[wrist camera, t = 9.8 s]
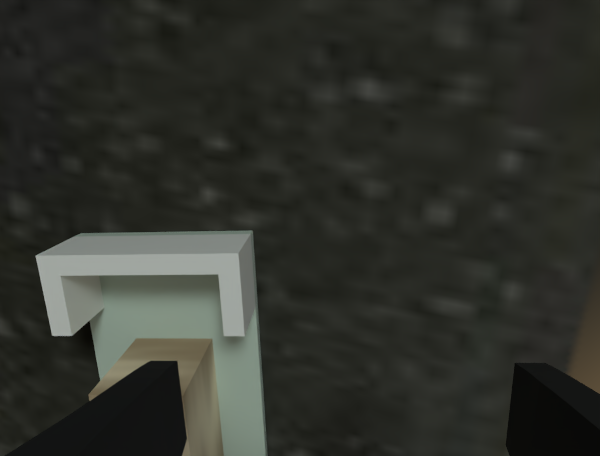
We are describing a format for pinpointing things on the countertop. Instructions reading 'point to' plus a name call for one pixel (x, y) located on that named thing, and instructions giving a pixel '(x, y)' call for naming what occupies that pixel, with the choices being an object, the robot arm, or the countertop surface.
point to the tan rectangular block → (193, 380)
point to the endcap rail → (168, 308)
